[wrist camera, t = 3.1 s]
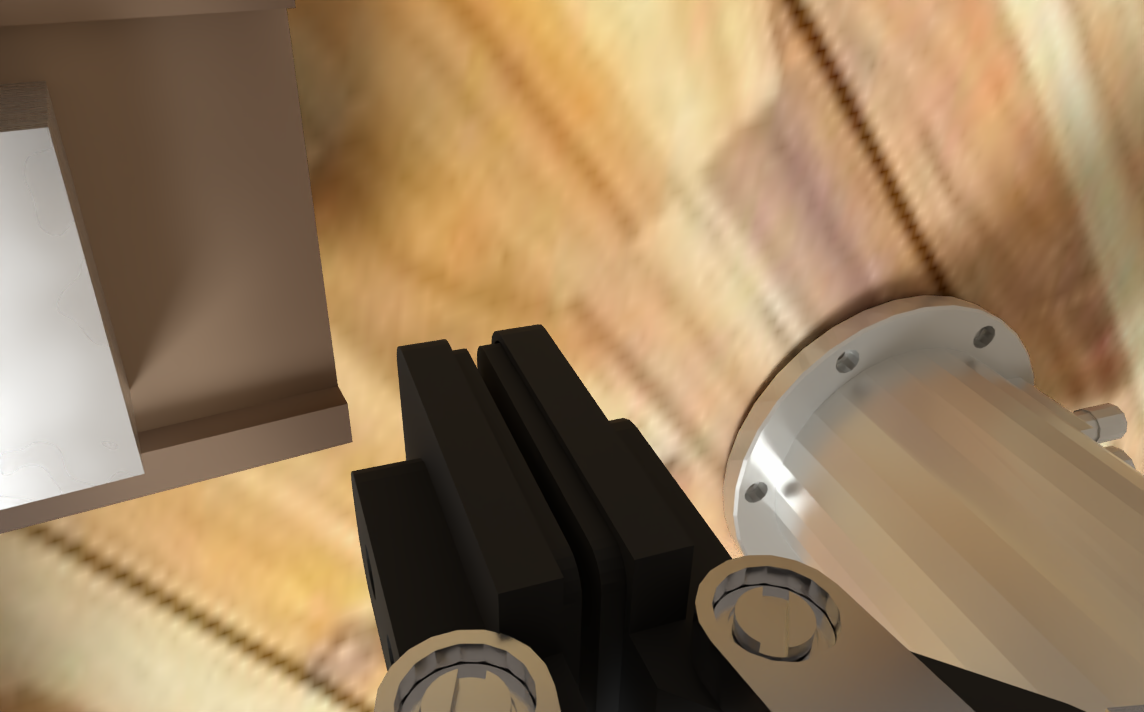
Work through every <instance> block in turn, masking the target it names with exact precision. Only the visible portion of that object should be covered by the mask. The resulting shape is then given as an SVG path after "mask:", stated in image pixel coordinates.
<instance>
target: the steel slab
mask: <svg viewBox="0 0 1144 712" xmlns="http://www.w3.org/2000/svg"><path fill="white" fill-rule="evenodd" d="M142 474H145V473H144V467H143V462H142V456H141V450H140V445H139V439H138V433H137V428H136V422H135V416H134V411H133V405H132V399H131V393H130V389H129V385H128V381H127V378H126V374H125V370H124V367H123V363H122V359H121V356H120V352H119V348H118V345H117V341H116V337H115V334H114V330H113V326H112V322H111V319H110V315H109V311H108V308H107V304H106V300H105V297H104V293H103V289H102V286H101V282H100V278H99V275H98V271H97V267H96V264H95V260H94V256H93V253H92V249H91V245H90V242H89V238H88V234H87V231H86V227H85V223H84V220H83V216H82V212H81V209H80V205H79V201H78V198H77V194H76V190H75V187H74V183H73V179H72V176H71V172H70V168H69V165H68V161H67V157H66V154H65V150H64V146H63V142H62V139H61V135H60V131H59V128H58V124H57V120H56V117H55V113H54V109H53V106H52V102H51V98H50V95H49V91H48V87H47V84H46V80H43V81H31V82H19V83H7V84H0V510H2V509H6V508H10V507H14V506H18V505H22V504H26V503H30V502H34V501H38V500H42V499H46V498H50V497H54V496H58V495H62V494H66V493H70V492H74V491H78V490H82V489H86V488H90V487H94V486H98V485H102V484H106V483H110V482H114V481H118V480H122V479H126V478H130V477H134V476H138V475H142Z"/></svg>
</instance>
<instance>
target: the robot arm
mask: <svg viewBox="0 0 1144 712" xmlns="http://www.w3.org/2000/svg"><path fill="white" fill-rule="evenodd" d="M397 366H398V376H399V387H400V398H401V408H402V419H403V430H404V441H405V451H406V461H402V462H397V463H392V464H387V465H382V466H377V467H372V468H367V469H362V470H356V471H352V472H351V480H352V489H353V497H354V505H355V512H356V519H357V527H358V533H359V540H360V546H361V552H362V558H363V563H364V569H365V574H366V579H367V584H368V589H369V594H370V598H371V603H372V607H373V611H374V615H375V620H376V624H377V628H378V633H379V637H380V641H381V645H382V650H383V654H384V658H385V663H386V667H387V671H388V672H387V674H386V675H385V677H384V679H383V681H382V683H381V684H380V686H379V688H378V691H377V697H376V703H375V708H374V712H1144V475H1143V474H1141V473H1140V472H1139V471H1137V470H1136V469H1135V466H1134V464H1133V462H1132V459H1131V458H1130V457H1129V456H1128V455H1127V454H1126V453H1125V452H1124V451H1123V450H1121V449H1119V448H1116V447H1114V446H1108V447H1103V446H1101V445H1100V444H1098V443H1103V442H1107V441H1111V440H1116V439H1120V438H1122V436H1123V435H1124V434H1125V433H1126V429H1127V421H1126V418H1125V415H1124V413H1123V412H1122V411H1121V410H1120V409H1119V408H1118V407H1117V406H1115V405H1112V404H1109V403H1107V404H1102V405H1097V406H1093V407H1088V408H1083V409H1079V410H1076V411H1074V412H1073V413H1072V412H1070V411H1069V410H1067V409H1066V408H1064V407H1063V406H1061V405H1060V404H1059V403H1057V402H1056V401H1054V400H1053V399H1051V398H1050V397H1048V396H1047V395H1045V394H1044V393H1042V392H1041V391H1039V390H1038V389H1037V388H1035V387H1034V373H1033V369H1032V365H1031V361H1030V357H1029V353H1028V351H1027V350H1026V348H1025V346H1024V344H1023V343H1022V341H1021V339H1020V338H1019V336H1018V334H1017V333H1016V332H1015V331H1013V330H1012V329H1011V328H1010V327H1009V326H1008V325H1007V324H1006V323H1005V322H1004V321H1002V320H1001V319H1000V318H998V317H996V316H995V315H993V314H991V313H990V312H988V311H986V310H985V309H983V308H981V307H980V306H978V305H976V304H974V303H971V302H968V301H965V300H961V299H958V298H955V297H951V296H932V295H922V296H916V297H910V298H903V299H897V300H893V301H890V302H887V303H884V304H881V305H879V306H876V307H873V308H870V309H867V310H864V311H862V312H860V313H858V314H857V315H855V316H853V317H851V318H849V319H847V320H845V321H843V322H842V323H840V324H838V325H836V326H834V327H832V328H831V329H830V330H828V331H827V332H826V333H824V334H823V335H821V336H820V337H819V338H817V339H816V340H815V341H813V342H812V343H811V344H809V345H808V346H806V347H805V348H804V349H803V350H802V351H801V352H800V353H799V354H797V355H796V356H795V357H794V358H793V359H792V360H791V361H790V362H789V363H788V364H787V365H786V366H785V367H784V368H783V369H782V370H781V371H780V372H779V373H778V374H777V375H776V376H775V378H774V379H773V380H772V381H771V383H770V384H769V385H768V387H767V388H766V389H765V390H764V392H763V393H762V394H761V396H760V397H759V398H758V399H757V401H756V402H755V404H754V405H753V407H752V409H751V411H750V412H749V414H748V416H747V418H746V419H745V421H744V423H743V425H742V426H741V428H740V430H739V432H738V434H737V437H736V440H735V442H734V445H733V448H732V451H731V453H730V456H729V459H728V462H727V468H726V473H725V479H724V485H723V505H724V516H725V519H726V522H727V526H728V529H729V532H730V536H731V537H732V539H733V540H734V542H735V543H736V545H737V546H738V548H739V550H740V551H741V553H742V554H743V557H739V558H735V559H732V558H731V556H730V555H729V554H728V552H727V551H726V549H725V548H724V547H723V545H722V544H721V543H720V541H719V540H718V538H717V537H716V536H715V534H714V533H713V532H712V530H711V529H710V527H709V526H708V525H707V523H706V522H705V521H704V519H703V518H702V516H701V515H700V514H699V512H698V511H697V510H696V508H695V507H694V505H693V504H692V503H691V501H690V500H689V499H688V497H687V496H686V494H685V493H684V492H683V490H682V489H681V488H680V486H679V485H678V483H677V482H676V481H675V479H674V478H673V477H672V475H671V474H670V472H669V471H668V470H667V468H666V467H665V466H664V464H663V463H662V461H661V460H660V459H659V457H658V456H657V455H656V453H655V452H654V450H653V449H652V448H651V446H650V445H649V444H648V442H647V441H646V439H645V438H644V437H643V435H642V434H641V433H640V431H639V430H638V428H637V427H636V426H635V425H634V424H633V423H632V422H631V421H630V420H628V419H625V418H621V419H616V420H611V421H608V419H607V418H606V416H605V415H604V413H603V412H602V410H601V409H600V408H599V406H598V405H597V403H596V402H595V400H594V399H593V397H592V396H591V394H590V393H589V392H588V390H587V389H586V387H585V386H584V384H583V383H582V381H581V380H580V379H579V377H578V376H577V374H576V373H575V371H574V370H573V368H572V367H571V365H570V364H569V363H568V361H567V360H566V358H565V357H564V355H563V354H562V352H561V351H560V350H559V348H558V347H557V345H556V344H555V342H554V341H553V339H552V338H551V336H550V335H549V334H548V332H547V331H546V329H545V328H544V327H543V326H542V325H532V326H525V327H519V328H513V329H506V330H500V331H495V332H494V333H493V336H492V344H490V345H484V346H479V348H478V351H477V367H476V365H475V363H474V361H473V360H472V358H471V356H470V354H469V352H468V350H467V349H459V350H453V351H452V349H451V347H450V345H449V343H448V341H447V340H446V339H443V340H437V341H430V342H424V343H417V344H411V345H405V346H398V348H397ZM477 368H478V369H477Z"/></svg>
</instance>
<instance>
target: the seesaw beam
mask: <svg viewBox="0 0 1144 712" xmlns="http://www.w3.org/2000/svg"><path fill="white" fill-rule="evenodd" d="M287 8H296V7H295V0H0V84H7V83H19V82H31V81H43V80H46V84H47V87H48V91H49V95H50V98H51V102H52V106H53V109H54V113H55V117H56V120H57V124H58V128H59V131H60V135H61V139H62V142H63V146H64V150H65V154H66V157H67V161H68V165H69V168H70V172H71V176H72V179H73V183H74V187H75V190H76V194H77V198H78V201H79V205H80V209H81V212H82V216H83V220H84V223H85V227H86V231H87V234H88V238H89V242H90V245H91V249H92V253H93V256H94V260H95V264H96V267H97V271H98V275H99V278H100V282H101V286H102V289H103V293H104V297H105V300H106V304H107V308H108V311H109V315H110V319H111V322H112V326H113V330H114V334H115V337H116V341H117V345H118V348H119V352H120V356H121V359H122V363H123V367H124V370H125V374H126V378H127V381H128V385H129V389H130V393H131V399H132V405H133V411H134V416H135V422H136V428H137V433H138V439H139V445H140V450H141V456H142V462H143V467H144V473H145V474H142V475H138V476H134V477H130V478H126V479H122V480H118V481H114V482H110V483H106V484H102V485H98V486H94V487H90V488H86V489H82V490H78V491H74V492H70V493H66V494H62V495H58V496H54V497H50V498H46V499H42V500H38V501H34V502H30V503H26V504H22V505H18V506H14V507H10V508H6V509H2V510H0V534H1V533H5V532H9V531H12V530H16V529H20V528H24V527H28V526H32V525H35V524H39V523H43V522H47V521H51V520H55V519H59V518H62V517H66V516H70V515H74V514H78V513H82V512H85V511H89V510H93V509H97V508H101V507H105V506H108V505H112V504H116V503H120V502H124V501H128V500H132V499H135V498H139V497H143V496H147V495H151V494H155V493H158V492H162V491H166V490H170V489H174V488H178V487H181V486H185V485H189V484H193V483H197V482H201V481H204V480H208V479H212V478H216V477H220V476H224V475H228V474H231V473H235V472H239V471H243V470H247V469H251V468H254V467H258V466H262V465H266V464H270V463H274V462H277V461H281V460H285V459H289V458H293V457H297V456H300V455H304V454H308V453H312V452H316V451H320V450H324V449H327V448H331V447H335V446H339V445H343V444H347V443H350V442H352V434H351V427H350V419H349V411H348V404H347V402H346V400H345V398H344V396H343V395H342V393H341V391H340V389H339V387H338V384H337V377H336V369H335V362H334V355H333V347H332V340H331V332H330V325H329V318H328V310H327V303H326V296H325V288H324V281H323V274H322V266H321V259H320V251H319V244H318V237H317V229H316V222H315V215H314V207H313V200H312V193H311V185H310V178H309V170H308V163H307V156H306V148H305V141H304V134H303V126H302V119H301V112H300V104H299V97H298V89H297V82H296V75H295V67H294V60H293V53H292V45H291V38H290V31H289V23H288V16H287Z"/></svg>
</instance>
